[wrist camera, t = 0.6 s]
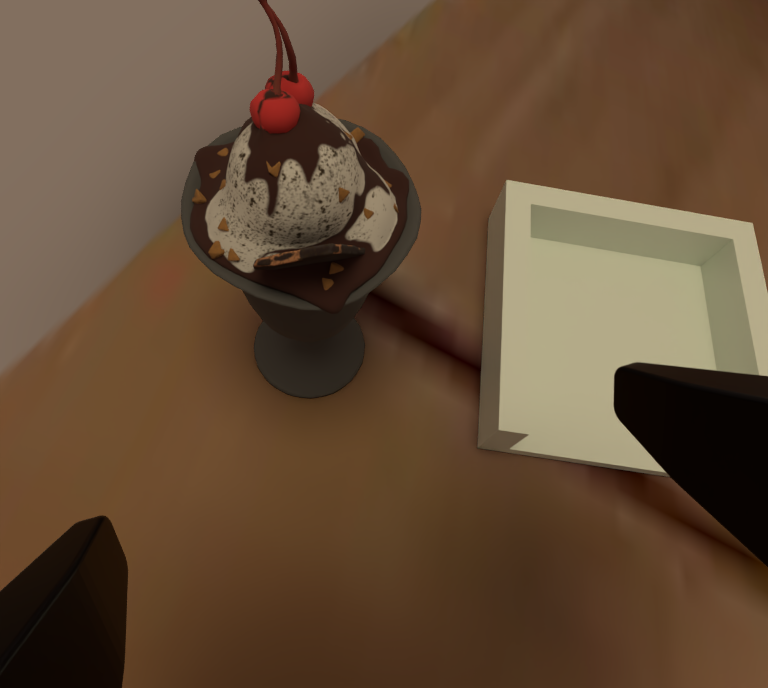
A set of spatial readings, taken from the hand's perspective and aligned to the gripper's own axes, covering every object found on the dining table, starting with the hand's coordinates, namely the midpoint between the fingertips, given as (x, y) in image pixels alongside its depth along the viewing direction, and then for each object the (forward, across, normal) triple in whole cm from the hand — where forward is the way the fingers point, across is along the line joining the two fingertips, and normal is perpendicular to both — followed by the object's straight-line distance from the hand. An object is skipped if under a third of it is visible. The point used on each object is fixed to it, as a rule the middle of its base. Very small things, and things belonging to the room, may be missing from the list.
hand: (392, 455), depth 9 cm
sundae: (+15, 0, +3) cm, 16 cm away
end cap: (+13, -14, +6) cm, 20 cm away
